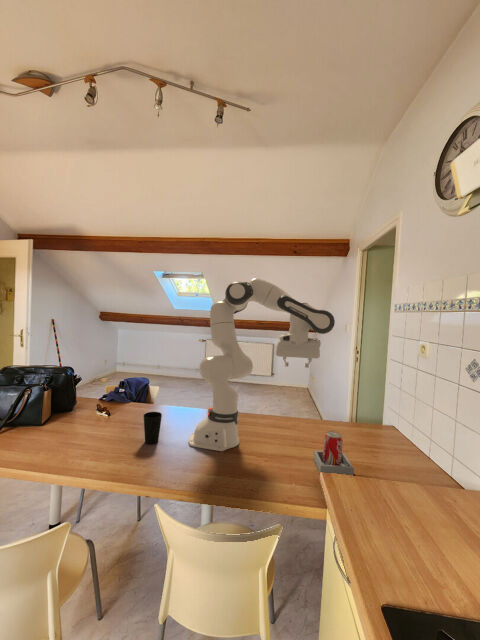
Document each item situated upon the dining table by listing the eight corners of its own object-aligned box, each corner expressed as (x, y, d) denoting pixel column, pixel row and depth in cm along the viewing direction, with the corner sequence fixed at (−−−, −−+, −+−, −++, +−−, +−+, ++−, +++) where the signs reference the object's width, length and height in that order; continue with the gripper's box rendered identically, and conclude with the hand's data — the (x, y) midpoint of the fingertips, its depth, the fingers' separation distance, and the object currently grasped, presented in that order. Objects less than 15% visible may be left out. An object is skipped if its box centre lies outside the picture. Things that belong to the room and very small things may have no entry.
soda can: (333, 471, 110) (335, 439, 109) (318, 462, 115) (320, 432, 115) (344, 466, 114) (346, 435, 113) (329, 458, 119) (331, 429, 119)
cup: (164, 442, 128) (165, 415, 128) (148, 447, 122) (149, 419, 122) (154, 436, 133) (155, 410, 133) (139, 441, 128) (140, 414, 127)
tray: (320, 475, 108) (320, 465, 108) (313, 458, 120) (313, 450, 120) (353, 477, 107) (353, 468, 107) (343, 460, 119) (343, 452, 119)
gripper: (319, 338, 139) (317, 366, 140) (276, 335, 140) (274, 364, 141) (322, 339, 133) (320, 369, 133) (277, 336, 134) (275, 366, 134)
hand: (296, 366), depth 137 cm, fingers open, 8 cm apart
